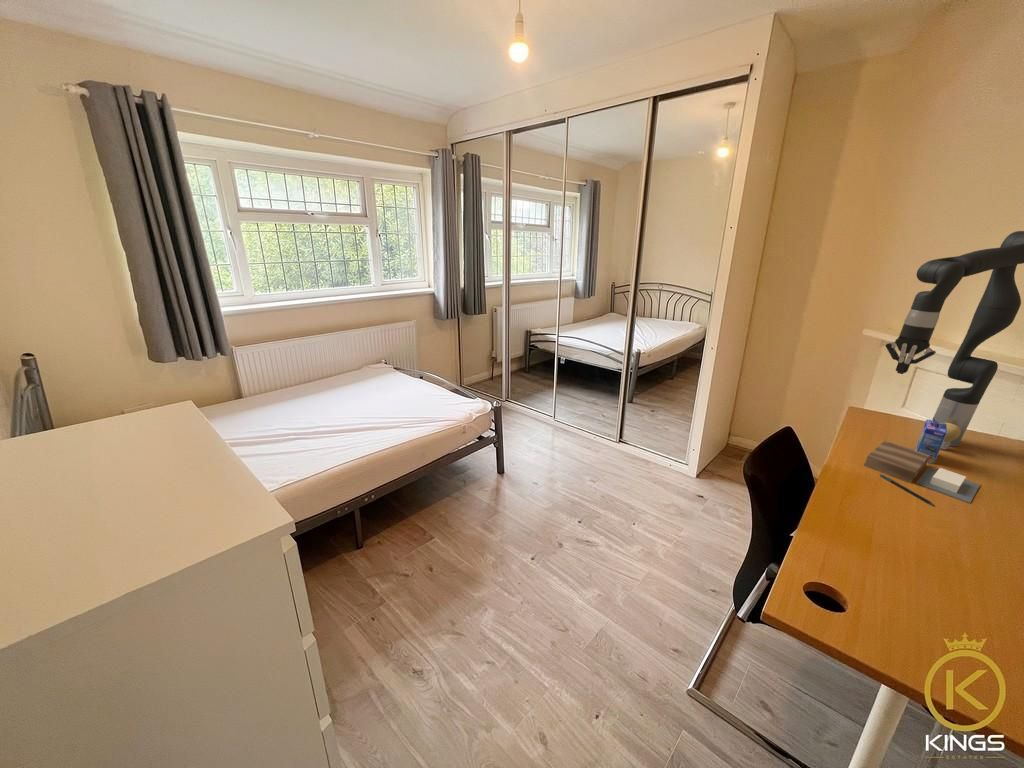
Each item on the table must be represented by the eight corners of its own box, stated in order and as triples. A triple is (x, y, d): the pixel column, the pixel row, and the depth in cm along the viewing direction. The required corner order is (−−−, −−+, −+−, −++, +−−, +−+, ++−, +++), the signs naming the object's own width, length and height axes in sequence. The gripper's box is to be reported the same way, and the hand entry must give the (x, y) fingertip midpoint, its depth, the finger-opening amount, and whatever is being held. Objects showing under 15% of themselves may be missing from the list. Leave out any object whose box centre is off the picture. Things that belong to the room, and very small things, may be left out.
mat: (928, 467, 136) (928, 466, 136) (979, 485, 127) (980, 484, 127) (915, 483, 128) (915, 482, 128) (969, 503, 119) (970, 502, 119)
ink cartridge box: (913, 448, 149) (928, 412, 143) (934, 453, 145) (950, 417, 140) (912, 458, 142) (928, 421, 137) (934, 464, 138) (951, 427, 133)
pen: (932, 508, 117) (934, 504, 117) (878, 476, 132) (880, 473, 131) (935, 507, 117) (937, 504, 117) (881, 476, 132) (882, 473, 131)
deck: (880, 450, 147) (884, 440, 145) (925, 465, 138) (929, 455, 136) (863, 465, 137) (867, 455, 136) (910, 482, 128) (915, 472, 126)
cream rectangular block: (966, 476, 127) (962, 483, 128) (940, 467, 131) (936, 474, 132) (959, 486, 122) (956, 493, 123) (932, 476, 127) (929, 483, 127)
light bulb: (924, 445, 150) (935, 421, 147) (932, 442, 153) (943, 418, 149) (947, 453, 145) (959, 429, 141) (955, 450, 148) (967, 425, 144)
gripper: (950, 326, 129) (929, 376, 136) (897, 319, 139) (879, 366, 146) (945, 329, 125) (923, 381, 132) (890, 321, 135) (872, 369, 142)
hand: (900, 373), depth 139 cm, fingers closed
